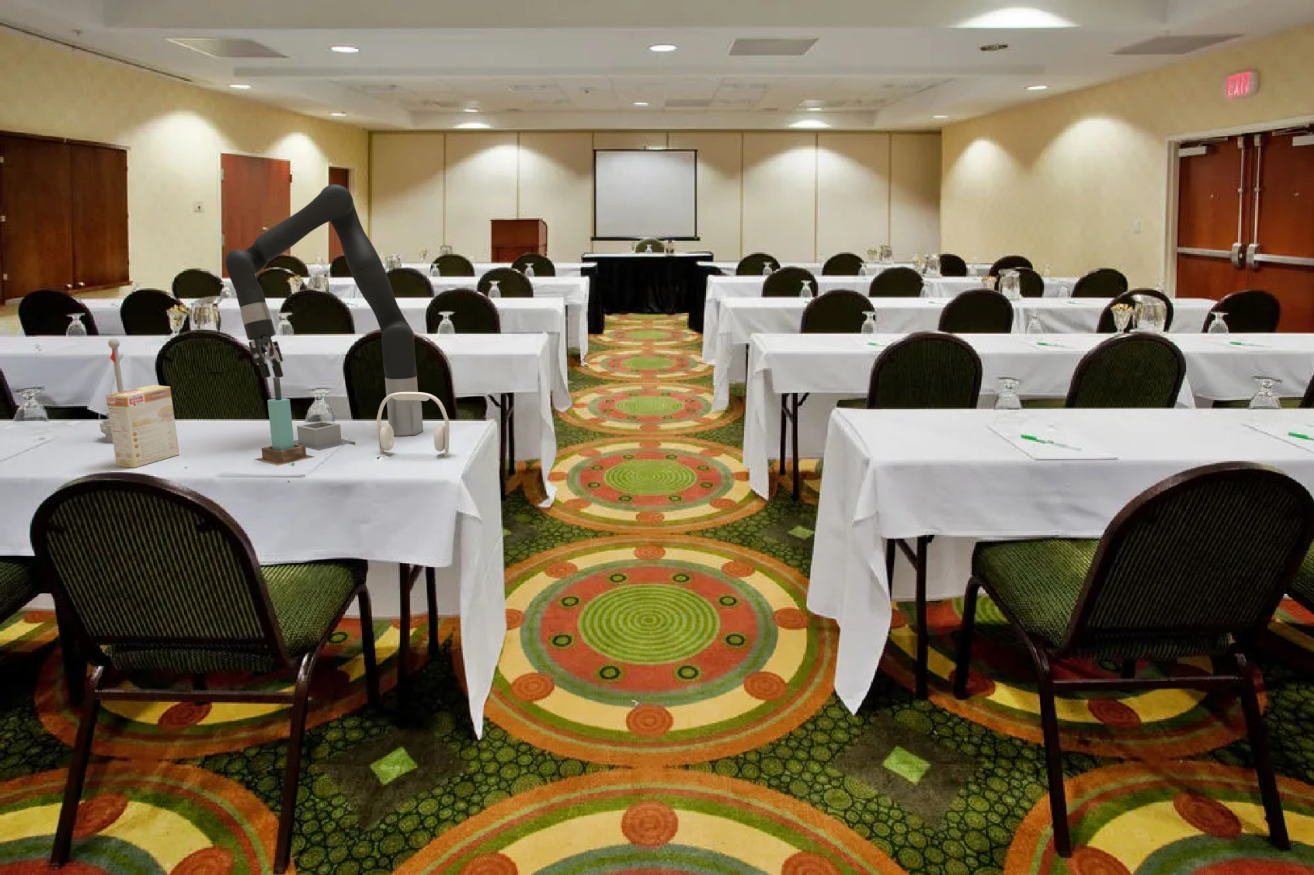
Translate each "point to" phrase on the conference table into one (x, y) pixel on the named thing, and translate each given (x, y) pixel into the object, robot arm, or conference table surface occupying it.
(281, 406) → the plug
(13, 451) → the conference table surface
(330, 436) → the box
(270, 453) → the brown open square box
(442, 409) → the headset
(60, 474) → the conference table surface
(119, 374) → the flag stand
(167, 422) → the coffeecake box
